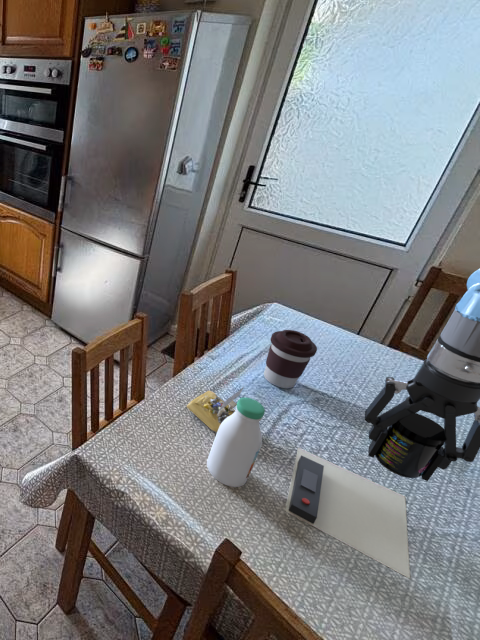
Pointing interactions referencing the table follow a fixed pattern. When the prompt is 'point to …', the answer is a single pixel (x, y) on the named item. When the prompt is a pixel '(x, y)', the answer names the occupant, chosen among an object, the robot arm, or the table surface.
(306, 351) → the coffee cup
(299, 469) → the remote
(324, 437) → the table surface
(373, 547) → the scale
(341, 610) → the table surface
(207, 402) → the yellow snack bag
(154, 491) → the table surface
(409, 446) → the supplement container
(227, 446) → the milk bottle
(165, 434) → the table surface
